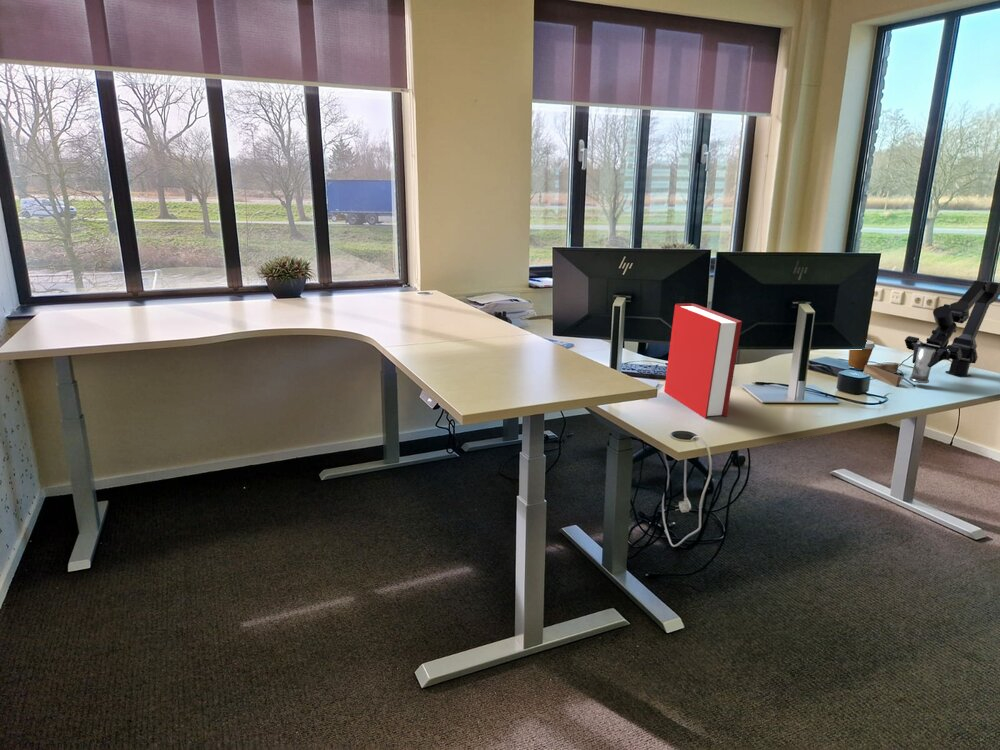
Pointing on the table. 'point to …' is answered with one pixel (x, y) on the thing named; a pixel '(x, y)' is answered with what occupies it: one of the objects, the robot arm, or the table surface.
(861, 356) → the disposable coffee cup
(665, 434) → the table surface
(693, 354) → the book
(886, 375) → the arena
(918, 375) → the silver metal can
